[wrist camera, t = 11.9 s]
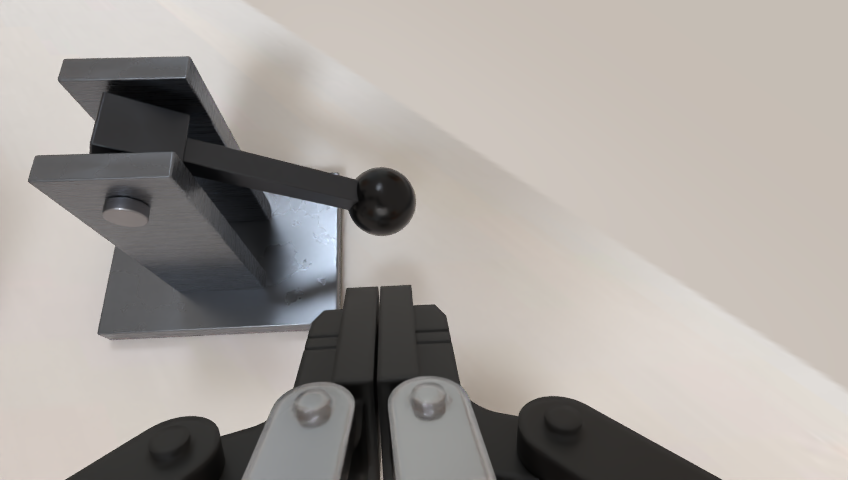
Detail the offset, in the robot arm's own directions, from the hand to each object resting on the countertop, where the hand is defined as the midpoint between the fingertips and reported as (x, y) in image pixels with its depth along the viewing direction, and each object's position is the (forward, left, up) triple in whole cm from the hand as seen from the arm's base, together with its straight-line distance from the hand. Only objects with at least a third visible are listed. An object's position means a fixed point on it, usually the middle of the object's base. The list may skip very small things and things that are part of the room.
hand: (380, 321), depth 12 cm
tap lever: (-5, +8, -8) cm, 13 cm away
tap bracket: (-9, +8, -15) cm, 19 cm away
